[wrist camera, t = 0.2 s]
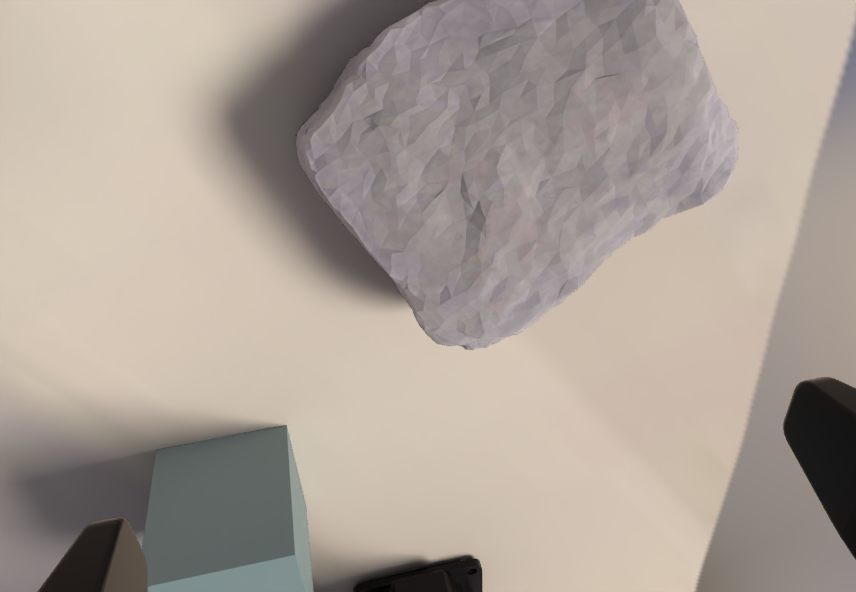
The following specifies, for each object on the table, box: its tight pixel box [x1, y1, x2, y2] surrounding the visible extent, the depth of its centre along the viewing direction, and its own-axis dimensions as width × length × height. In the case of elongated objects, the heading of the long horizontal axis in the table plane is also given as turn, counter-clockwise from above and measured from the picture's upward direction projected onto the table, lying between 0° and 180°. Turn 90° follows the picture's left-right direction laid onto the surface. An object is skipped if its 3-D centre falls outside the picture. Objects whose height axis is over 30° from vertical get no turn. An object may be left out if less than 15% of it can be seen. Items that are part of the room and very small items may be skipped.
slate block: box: [142, 425, 313, 592], centre depth 26 cm, size 5×5×6 cm
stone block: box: [296, 0, 738, 350], centre depth 21 cm, size 12×5×10 cm
